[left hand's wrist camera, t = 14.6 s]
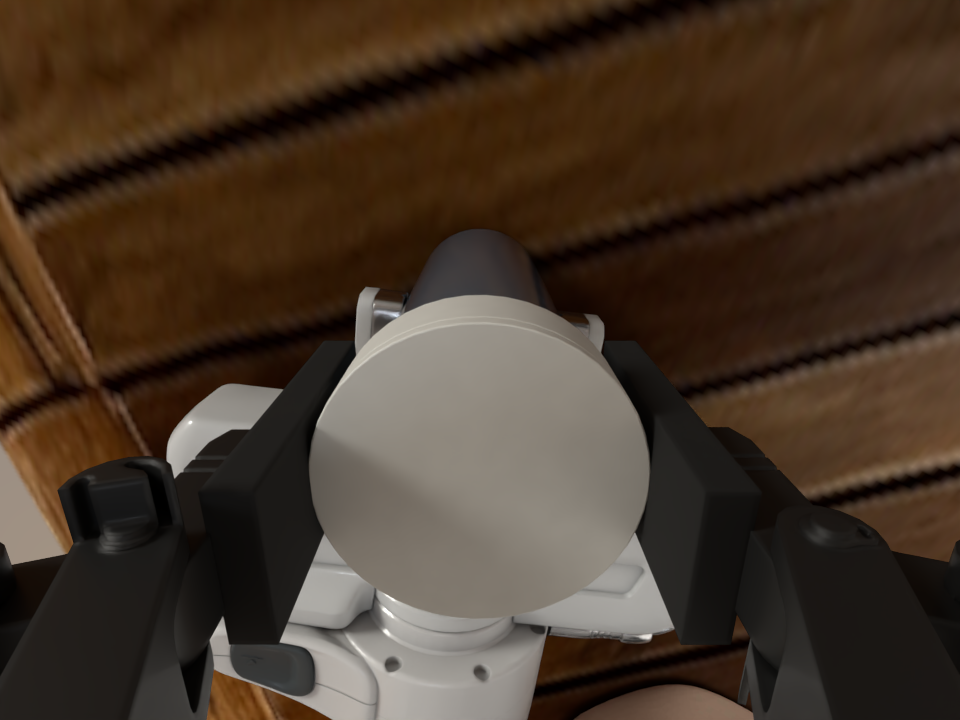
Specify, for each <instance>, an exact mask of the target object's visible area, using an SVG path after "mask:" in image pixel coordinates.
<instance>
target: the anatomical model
mask: <svg viewBox="0 0 960 720" xmlns="http://www.w3.org/2000/svg"><path fill="white" fill-rule="evenodd" d="M574 720H754V718H753V713H752V712H750V711H749V710H747V709H745V708H743V707H742V706H740V705H738V704H736V703H734V702H733V701H731V700H729V699H727V698H724V697H722V696H720V695H718V694H715V693H713V692H710V691H708V690H705V689H702V688H698V687H695V686H690V685H680V684H668V685H659V686H653V687H649V688H644V689H640V690H637V691H633V692H630V693H627V694H624V695H621V696H619V697H616V698H614V699H611V700H609V701H606V702H604V703H602V704H599V705H597V706H595V707H593V708H591V709H589V710H587V711H586V712H584V713H582V714H580V715H579V716H577V717H576V718H575V719H574Z"/></svg>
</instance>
